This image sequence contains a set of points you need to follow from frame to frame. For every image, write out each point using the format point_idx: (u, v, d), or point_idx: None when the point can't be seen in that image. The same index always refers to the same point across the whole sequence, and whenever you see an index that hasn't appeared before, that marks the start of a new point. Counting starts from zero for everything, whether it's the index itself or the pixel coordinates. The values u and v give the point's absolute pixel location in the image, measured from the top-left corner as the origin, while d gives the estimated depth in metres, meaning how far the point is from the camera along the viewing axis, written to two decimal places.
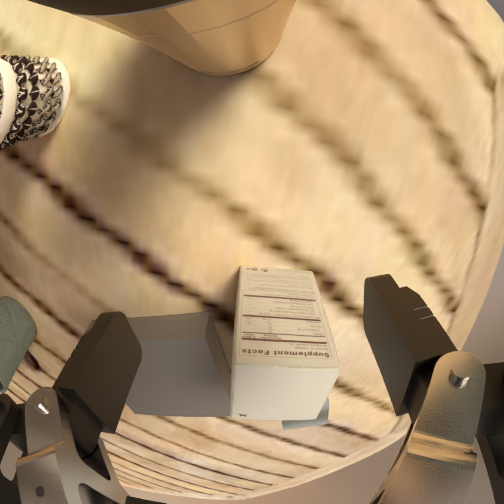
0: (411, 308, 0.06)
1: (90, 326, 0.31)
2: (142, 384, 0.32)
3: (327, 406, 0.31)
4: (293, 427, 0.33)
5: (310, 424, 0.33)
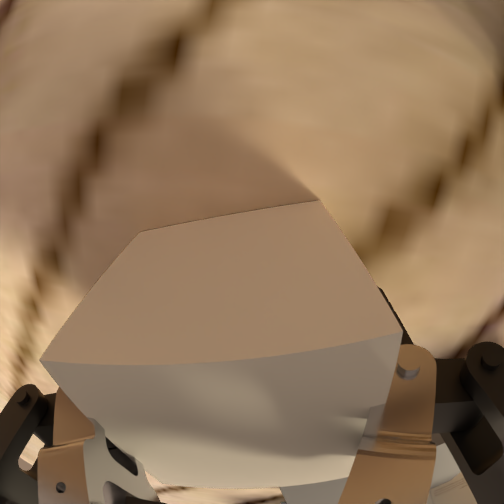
0: None
1: None
2: None
3: None
4: None
5: None
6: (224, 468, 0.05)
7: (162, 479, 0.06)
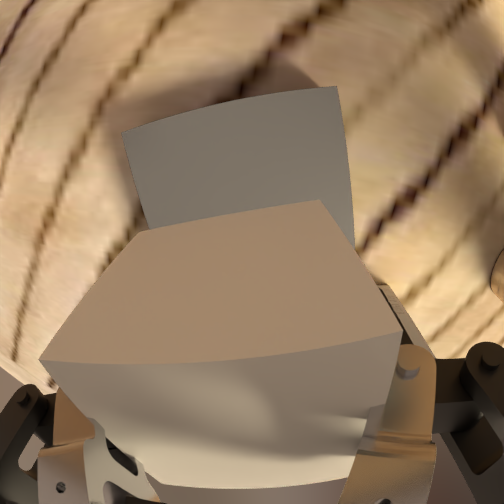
0: None
1: None
2: (239, 173, 0.20)
3: None
4: None
5: None
6: (224, 468, 0.05)
7: (162, 479, 0.06)
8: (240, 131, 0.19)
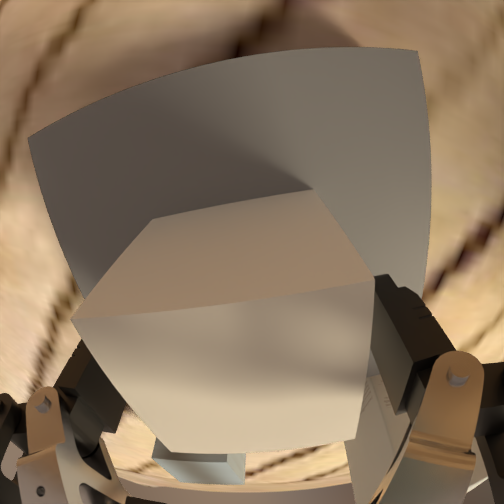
0: (410, 308, 0.06)
1: None
2: None
3: (233, 484, 0.19)
4: (164, 465, 0.17)
5: (177, 474, 0.18)
6: (230, 426, 0.07)
7: (171, 446, 0.07)
8: (230, 124, 0.09)
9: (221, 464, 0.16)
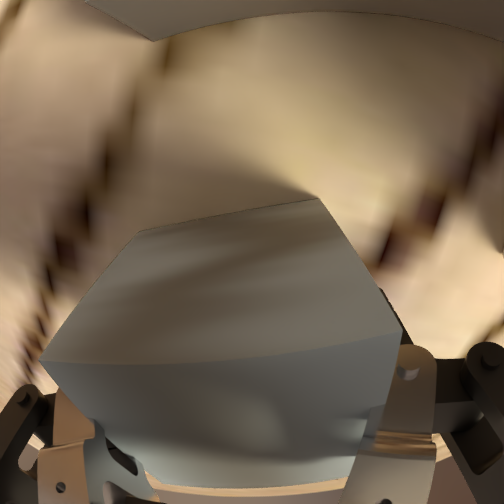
0: None
1: None
2: None
3: (329, 478, 0.06)
4: (90, 407, 0.04)
5: (146, 458, 0.05)
6: None
7: None
8: None
9: (366, 359, 0.04)
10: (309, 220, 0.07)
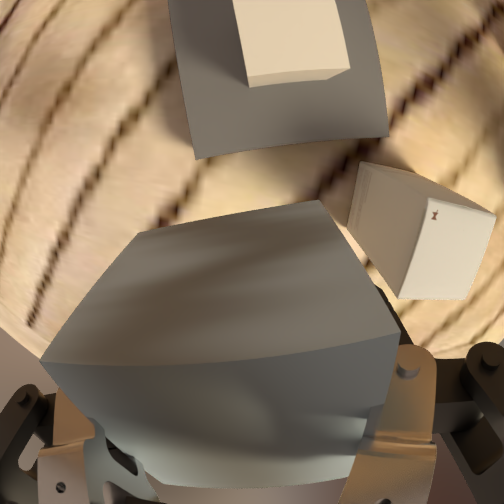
0: None
1: None
2: None
3: (329, 478, 0.06)
4: (91, 408, 0.04)
5: (146, 458, 0.05)
6: (286, 41, 0.13)
7: (250, 67, 0.14)
8: None
9: (365, 360, 0.04)
10: (309, 221, 0.07)
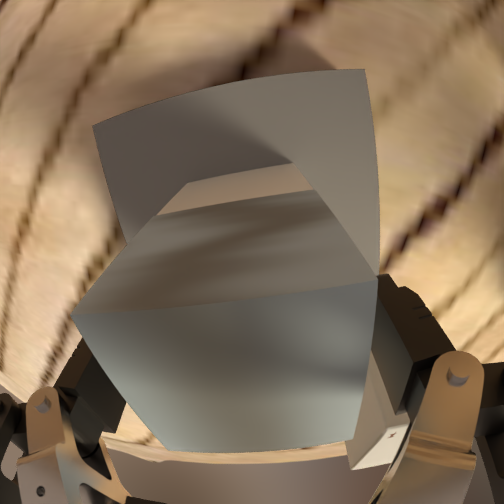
0: (409, 308, 0.06)
1: None
2: None
3: (324, 442, 0.07)
4: (113, 361, 0.06)
5: (157, 417, 0.07)
6: None
7: None
8: (240, 122, 0.14)
9: (350, 304, 0.05)
10: (306, 205, 0.08)
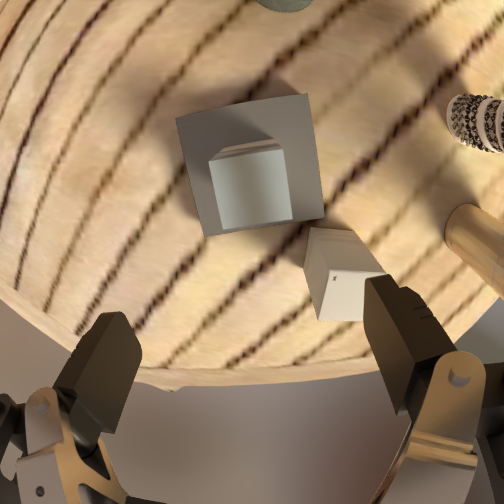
0: (411, 308, 0.06)
1: None
2: None
3: (281, 218, 0.24)
4: (217, 176, 0.23)
5: (224, 202, 0.24)
6: None
7: None
8: (249, 120, 0.32)
9: (277, 155, 0.22)
10: (272, 145, 0.26)
